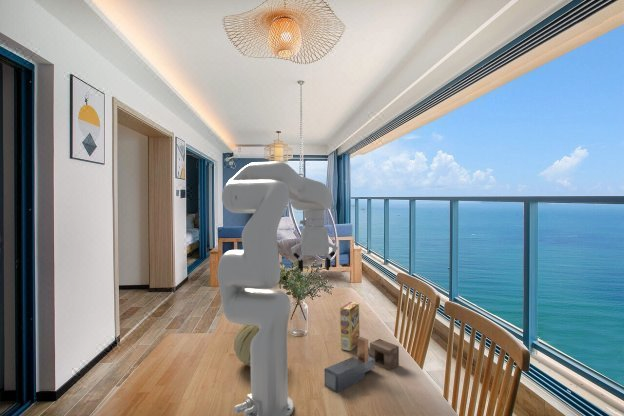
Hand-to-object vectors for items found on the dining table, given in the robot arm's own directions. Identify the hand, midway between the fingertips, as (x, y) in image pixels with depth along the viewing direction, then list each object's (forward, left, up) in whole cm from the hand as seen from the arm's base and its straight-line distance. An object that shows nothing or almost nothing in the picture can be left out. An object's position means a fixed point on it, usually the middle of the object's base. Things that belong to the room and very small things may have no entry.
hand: (314, 270), depth 132 cm
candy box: (+11, -8, -29) cm, 32 cm away
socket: (+9, -25, -29) cm, 39 cm away
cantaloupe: (-23, +2, -29) cm, 37 cm away
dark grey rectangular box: (-9, -25, -29) cm, 39 cm away
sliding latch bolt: (-5, -25, -28) cm, 37 cm away
